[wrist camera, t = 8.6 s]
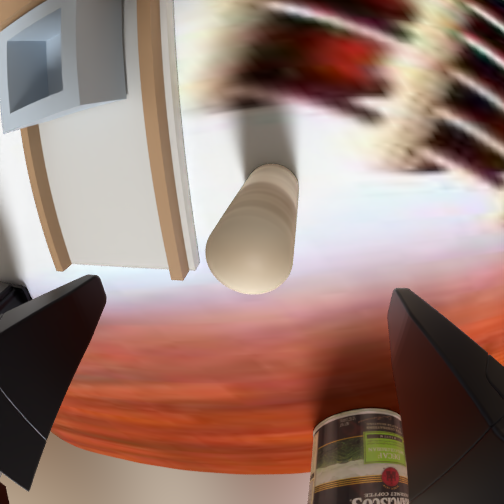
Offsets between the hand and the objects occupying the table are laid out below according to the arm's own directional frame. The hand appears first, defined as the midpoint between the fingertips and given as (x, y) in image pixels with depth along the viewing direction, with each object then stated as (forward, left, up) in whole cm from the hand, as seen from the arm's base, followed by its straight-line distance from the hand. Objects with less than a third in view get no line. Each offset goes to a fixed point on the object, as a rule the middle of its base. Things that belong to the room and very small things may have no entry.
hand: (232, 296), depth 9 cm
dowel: (0, 0, -10) cm, 10 cm away
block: (+10, +11, -9) cm, 17 cm away
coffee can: (-26, -9, -10) cm, 29 cm away
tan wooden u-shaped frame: (+5, +11, -10) cm, 16 cm away
